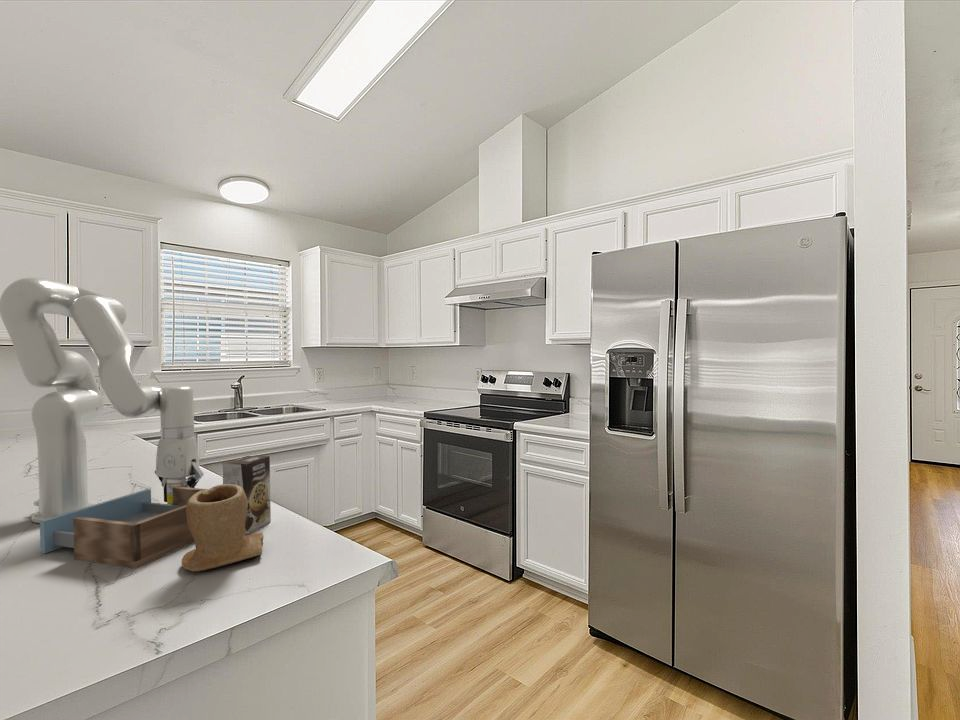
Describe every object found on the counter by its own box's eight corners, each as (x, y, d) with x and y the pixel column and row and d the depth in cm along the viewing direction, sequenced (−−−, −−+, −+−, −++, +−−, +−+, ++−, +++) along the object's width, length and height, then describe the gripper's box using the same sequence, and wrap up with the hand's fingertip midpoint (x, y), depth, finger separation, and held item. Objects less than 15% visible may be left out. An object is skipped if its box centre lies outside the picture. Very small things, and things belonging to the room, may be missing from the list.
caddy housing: (74, 559, 101) (73, 518, 100) (177, 519, 124) (176, 486, 123) (135, 568, 96) (134, 525, 96) (230, 525, 119) (229, 491, 119)
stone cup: (185, 584, 89) (183, 500, 89) (179, 561, 99) (177, 486, 99) (275, 562, 98) (273, 486, 98) (261, 543, 108) (260, 474, 107)
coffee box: (247, 535, 113) (246, 464, 112) (222, 533, 114) (220, 462, 113) (272, 521, 121) (270, 455, 121) (248, 520, 123) (247, 454, 122)
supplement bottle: (187, 504, 136) (186, 466, 136) (195, 508, 133) (194, 469, 132) (163, 509, 132) (162, 470, 132) (171, 513, 128) (170, 473, 128)
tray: (40, 552, 103) (39, 520, 103) (147, 515, 126) (147, 489, 126) (98, 561, 99) (97, 528, 99) (198, 520, 122) (198, 493, 122)
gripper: (139, 434, 131) (141, 503, 131) (191, 436, 126) (193, 508, 126) (164, 429, 138) (166, 495, 138) (215, 432, 133) (217, 499, 133)
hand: (179, 500), depth 132 cm, fingers closed on supplement bottle, 5 cm apart
